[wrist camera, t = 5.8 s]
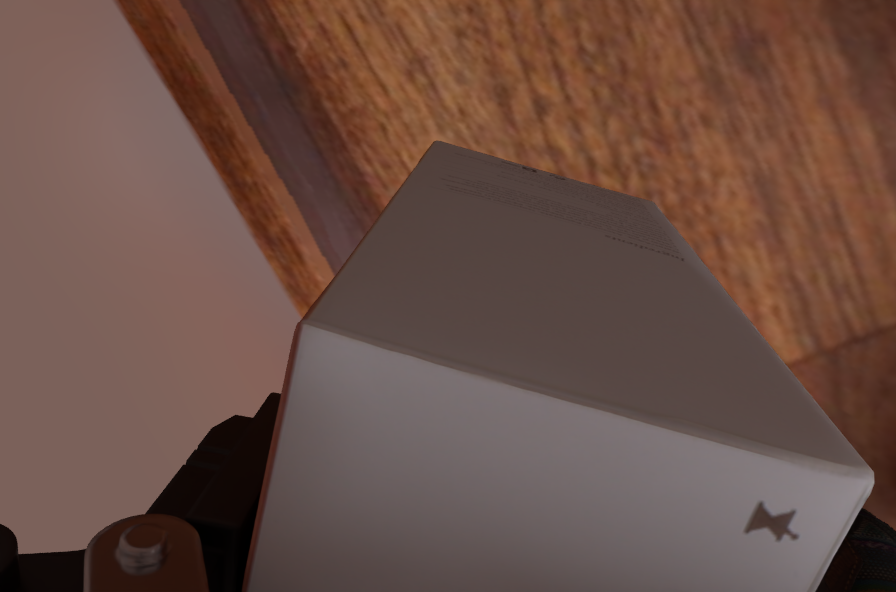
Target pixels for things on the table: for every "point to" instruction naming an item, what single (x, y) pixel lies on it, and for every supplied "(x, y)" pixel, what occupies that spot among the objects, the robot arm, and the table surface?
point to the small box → (541, 409)
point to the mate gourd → (864, 558)
